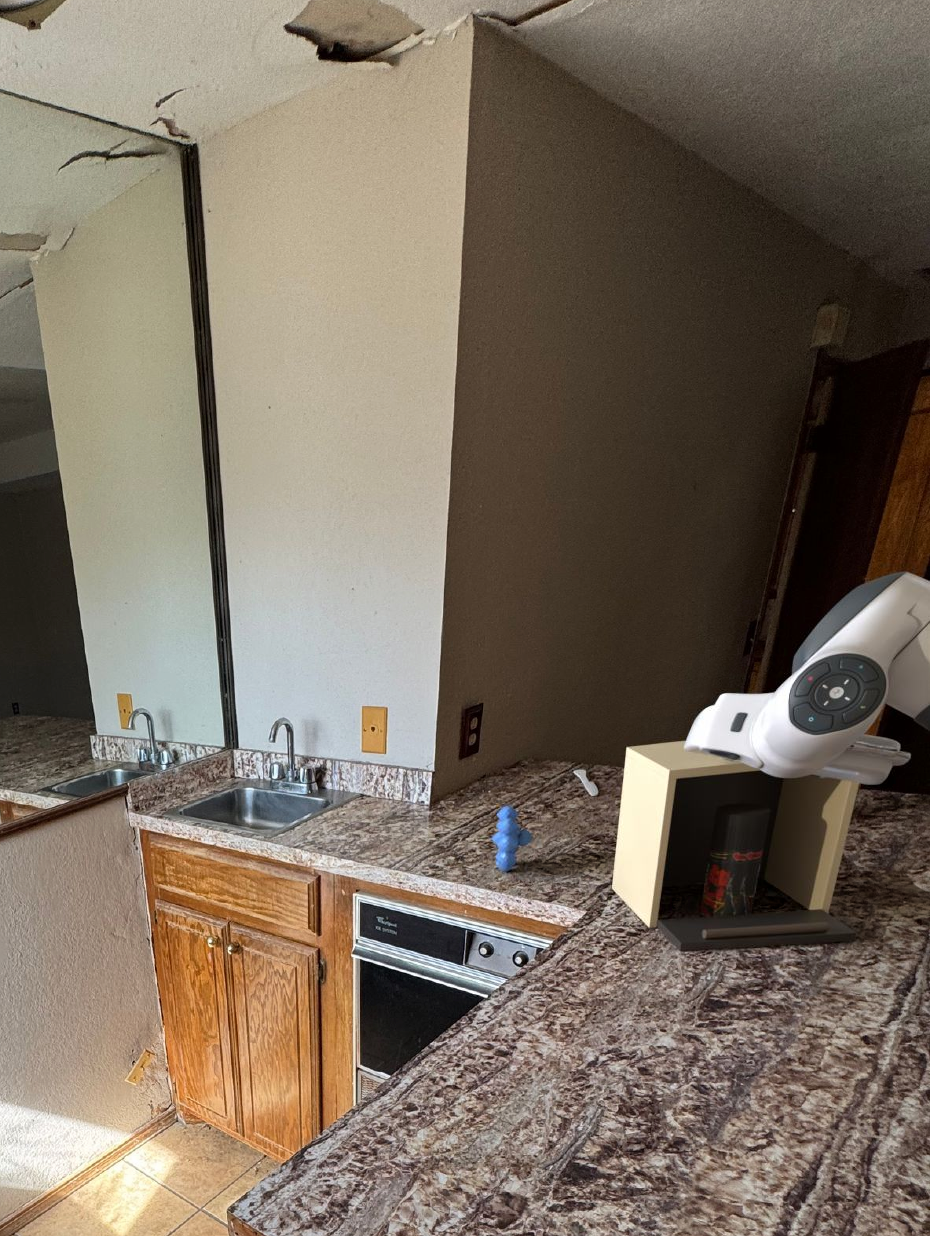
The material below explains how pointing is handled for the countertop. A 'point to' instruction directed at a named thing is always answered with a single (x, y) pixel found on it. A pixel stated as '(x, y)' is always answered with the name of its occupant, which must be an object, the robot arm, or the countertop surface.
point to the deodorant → (734, 859)
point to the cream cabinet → (682, 833)
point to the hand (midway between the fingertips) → (773, 762)
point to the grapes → (509, 838)
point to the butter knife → (587, 782)
